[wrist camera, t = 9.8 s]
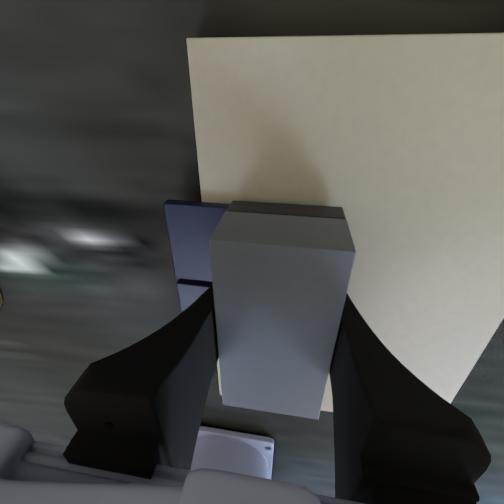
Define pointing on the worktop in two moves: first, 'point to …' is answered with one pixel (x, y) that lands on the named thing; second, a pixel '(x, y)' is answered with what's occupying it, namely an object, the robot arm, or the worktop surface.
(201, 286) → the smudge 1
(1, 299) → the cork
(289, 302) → the eraser
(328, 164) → the memo board
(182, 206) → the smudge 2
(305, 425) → the worktop surface
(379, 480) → the robot arm
